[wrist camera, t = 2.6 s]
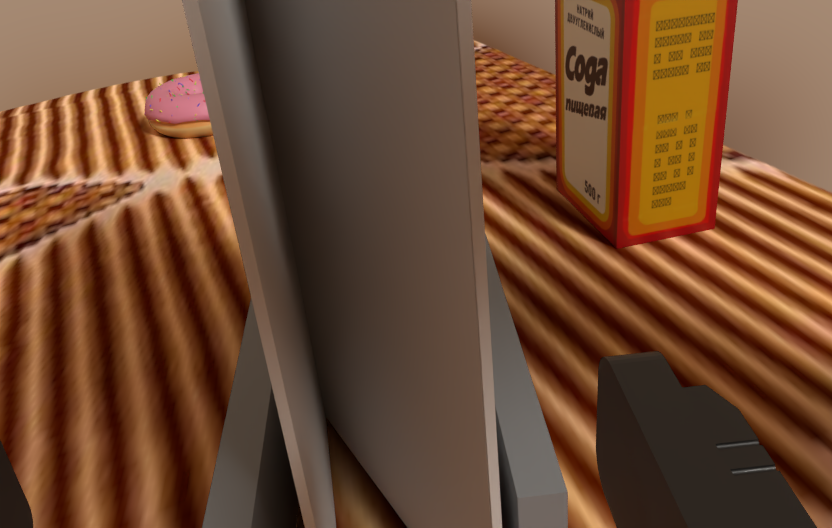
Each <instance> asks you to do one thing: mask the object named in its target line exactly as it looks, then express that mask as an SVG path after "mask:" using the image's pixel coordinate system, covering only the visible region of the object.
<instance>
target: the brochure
mask: <svg viewBox="0 0 832 528" xmlns="http://www.w3.org/2000/svg"><path fill="white" fill-rule="evenodd" d="M182 2H183V7H184V11H185V15H186V19H187V24H188V28H189V32H190V37H191V41H192V46H193V49H194V54H195V58H196V63H197V67H198V71H199V76H200V80H201V84H202V88H203V93H204V97H205V101H206V106H207V110H208V114H209V118H210V123H211V127H212V131H213V136H214V140H215V144H216V148H217V153H218V157H219V161H220V166H221V170H222V174H223V179H224V183H225V187H226V191H227V196H228V200H229V204H230V209H231V213H232V217H233V221H234V226H235V230H236V234H237V239H238V243H239V247H240V251H241V256H242V260H243V264H244V269H245V273H246V277H247V281H248V286H249V290H250V294H251V299H252V303H253V307H254V312H255V316H256V320H257V324H258V329H259V333H260V337H261V342H262V346H263V350H264V354H265V359H266V363H267V367H268V372H269V376H270V380H271V384H272V389H273V393H274V397H275V402H276V406H277V410H278V414H279V419H280V423H281V427H282V432H283V436H284V440H285V445H286V449H287V453H288V457H289V462H290V466H291V470H292V475H293V479H294V483H295V487H296V492H297V496H298V500H299V505H300V509H301V513H302V517H303V522H304V526H305V528H336V519H335V509H334V498H333V487H332V476H331V466H330V455H329V444H328V433H327V423H326V418H327V419H328V420H329V422H330V423H331V425H332V426H333V427H334V429H335V430H336V431H337V433H338V434H339V435H340V437H341V438H342V439H343V441H344V442H345V444H346V445H347V446H348V448H349V449H350V450H351V452H352V453H353V454H354V456H355V457H356V458H357V460H358V461H359V463H360V464H361V465H362V467H363V468H364V469H365V471H366V472H367V473H368V475H369V476H370V477H371V479H372V480H373V482H374V483H375V484H376V486H377V487H378V488H379V490H380V491H381V492H382V494H383V495H384V496H385V498H386V499H387V501H388V502H389V503H390V505H391V506H392V507H393V509H394V510H395V511H396V513H397V514H398V515H399V517H400V518H401V520H402V521H403V522H404V524H405V525H406V526H407V528H502V516H501V499H500V482H499V465H498V448H497V431H496V414H495V397H494V380H493V363H492V347H491V330H490V313H489V296H488V279H487V262H486V245H485V228H484V211H483V194H482V177H481V160H480V143H479V126H478V109H477V92H476V75H475V58H474V41H473V25H472V8H471V0H182Z"/></svg>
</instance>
